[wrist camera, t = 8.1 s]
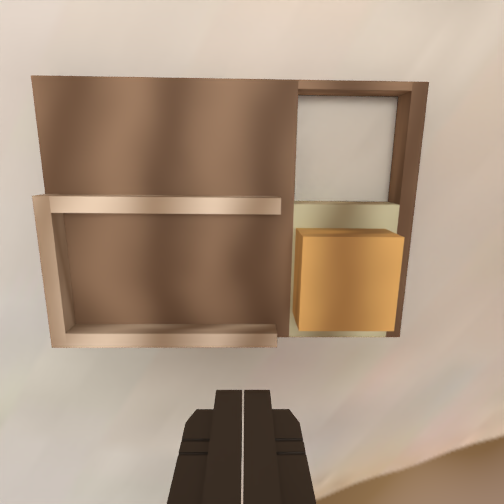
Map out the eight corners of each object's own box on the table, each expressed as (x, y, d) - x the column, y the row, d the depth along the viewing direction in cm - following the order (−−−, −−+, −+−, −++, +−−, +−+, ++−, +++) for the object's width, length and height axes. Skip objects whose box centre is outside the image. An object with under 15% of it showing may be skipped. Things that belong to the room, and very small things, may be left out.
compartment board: (414, 88, 24) (441, 76, 21) (388, 325, 28) (408, 347, 25) (48, 82, 24) (15, 69, 20) (75, 324, 27) (52, 347, 24)
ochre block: (385, 228, 24) (404, 237, 21) (377, 312, 26) (394, 331, 23) (295, 227, 24) (303, 236, 21) (292, 312, 25) (298, 331, 23)
